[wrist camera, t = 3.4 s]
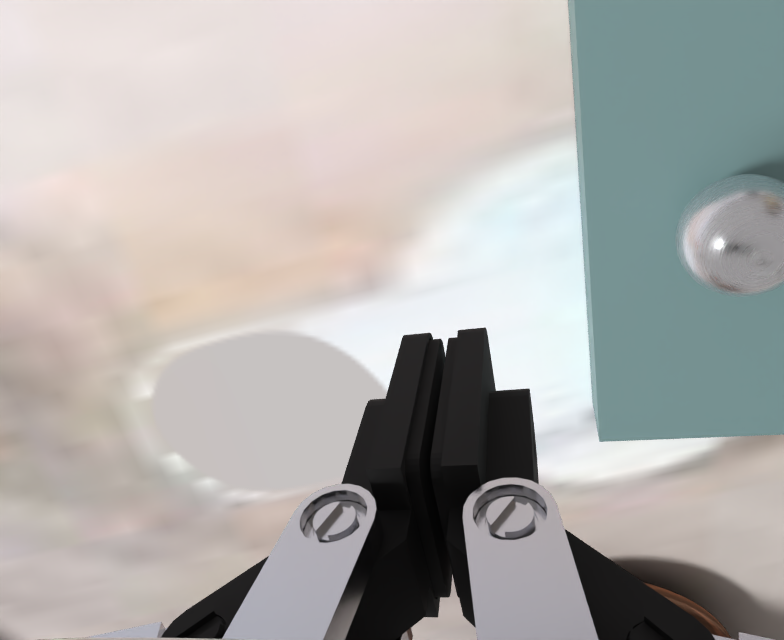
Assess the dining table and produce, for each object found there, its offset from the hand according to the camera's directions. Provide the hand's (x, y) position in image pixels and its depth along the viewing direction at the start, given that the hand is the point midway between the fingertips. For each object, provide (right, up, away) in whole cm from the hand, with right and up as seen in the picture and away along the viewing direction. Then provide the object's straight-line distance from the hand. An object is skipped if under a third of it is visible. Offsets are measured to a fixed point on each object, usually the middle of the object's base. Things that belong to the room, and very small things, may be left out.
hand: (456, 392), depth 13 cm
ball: (+9, +4, +5) cm, 10 cm away
